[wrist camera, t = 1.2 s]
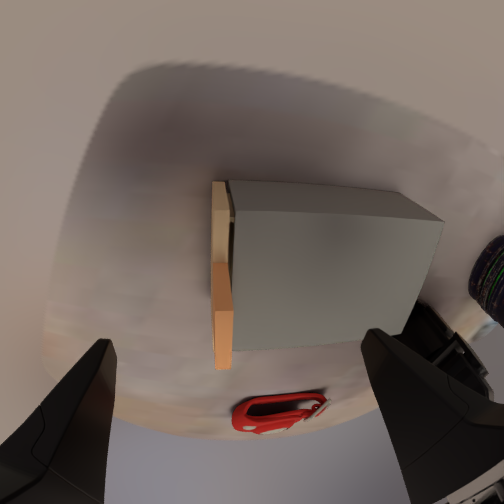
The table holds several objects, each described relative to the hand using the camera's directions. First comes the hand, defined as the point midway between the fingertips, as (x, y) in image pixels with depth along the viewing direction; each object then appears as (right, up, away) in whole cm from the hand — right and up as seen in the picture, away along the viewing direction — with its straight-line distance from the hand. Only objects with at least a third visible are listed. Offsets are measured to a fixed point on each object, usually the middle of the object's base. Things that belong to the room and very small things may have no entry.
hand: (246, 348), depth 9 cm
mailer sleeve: (+5, +4, +14) cm, 15 cm away
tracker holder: (+4, -17, +26) cm, 31 cm away
